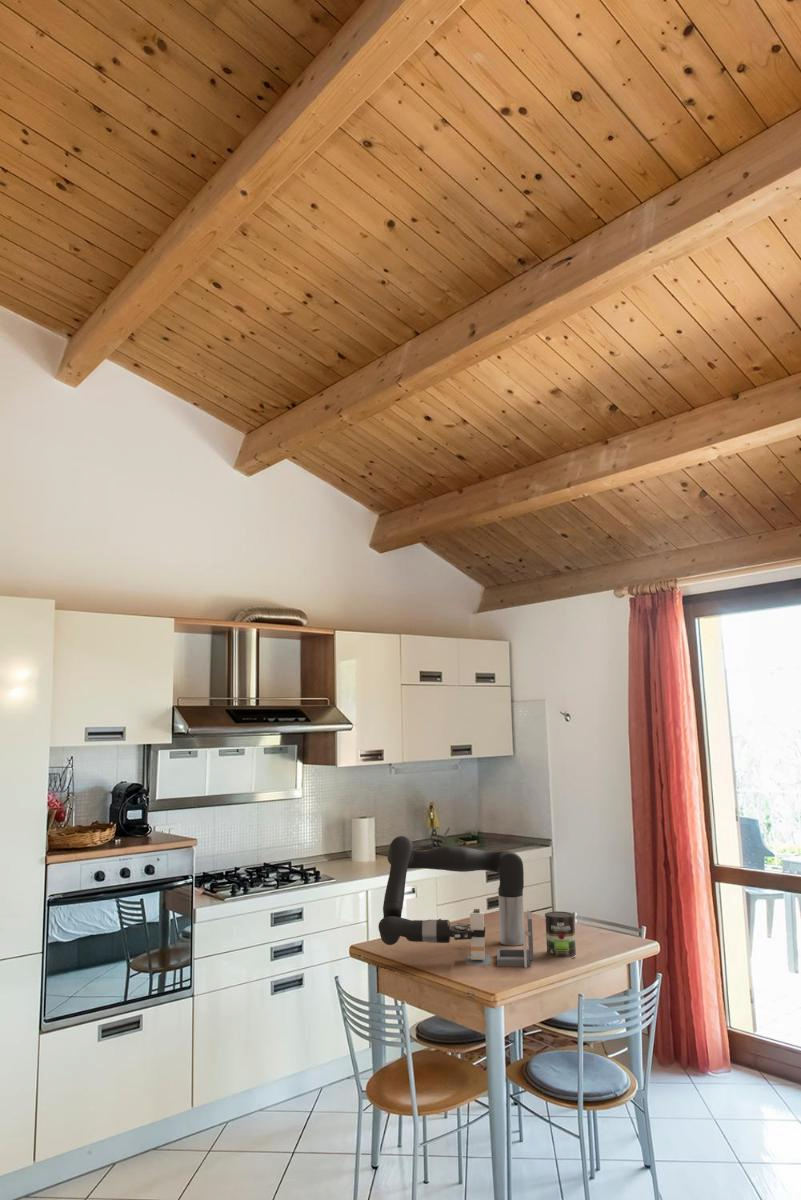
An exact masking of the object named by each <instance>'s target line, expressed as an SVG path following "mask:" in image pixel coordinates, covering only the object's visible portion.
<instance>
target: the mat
mask: <svg viewBox="0 0 801 1200" xmlns="http://www.w3.org/2000/svg"><path fill="white" fill-rule="evenodd" d="M465 965H466V966H490V965H491V955H485V959H484V960H471V955H467V956H466V961H465Z"/></svg>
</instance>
